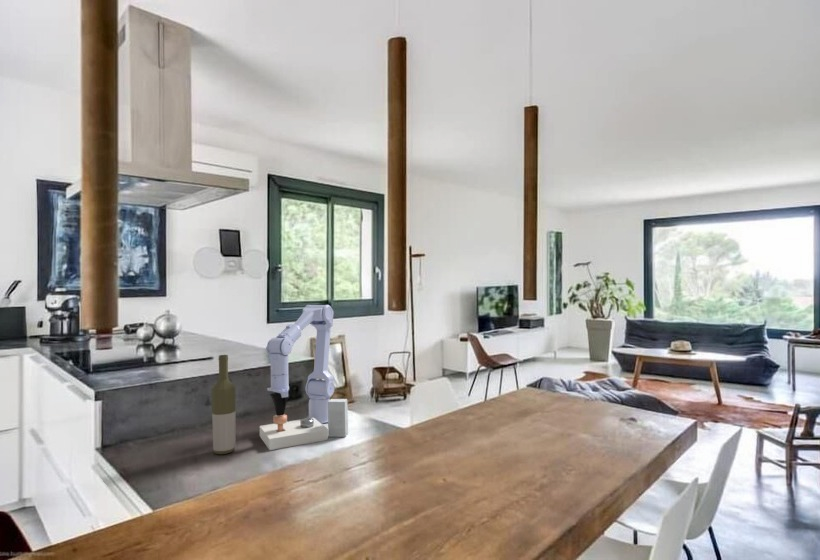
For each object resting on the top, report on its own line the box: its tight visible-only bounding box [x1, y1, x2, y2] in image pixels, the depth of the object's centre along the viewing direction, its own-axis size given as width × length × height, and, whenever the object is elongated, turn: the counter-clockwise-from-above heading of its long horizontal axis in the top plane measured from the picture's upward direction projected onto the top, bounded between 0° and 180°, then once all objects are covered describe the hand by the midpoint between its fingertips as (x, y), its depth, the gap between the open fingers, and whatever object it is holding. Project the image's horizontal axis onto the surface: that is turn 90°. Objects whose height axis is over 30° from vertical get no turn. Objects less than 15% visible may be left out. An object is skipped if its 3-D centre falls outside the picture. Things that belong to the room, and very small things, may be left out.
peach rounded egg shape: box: [272, 413, 288, 432], centre depth 153 cm, size 4×4×5 cm
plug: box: [299, 417, 314, 428], centre depth 157 cm, size 4×4×5 cm
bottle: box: [211, 354, 237, 455], centre depth 144 cm, size 7×7×30 cm
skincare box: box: [327, 398, 349, 438], centre depth 158 cm, size 6×4×12 cm
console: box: [259, 417, 329, 451], centre depth 156 cm, size 16×19×4 cm
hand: (280, 415), depth 153 cm, fingers closed
